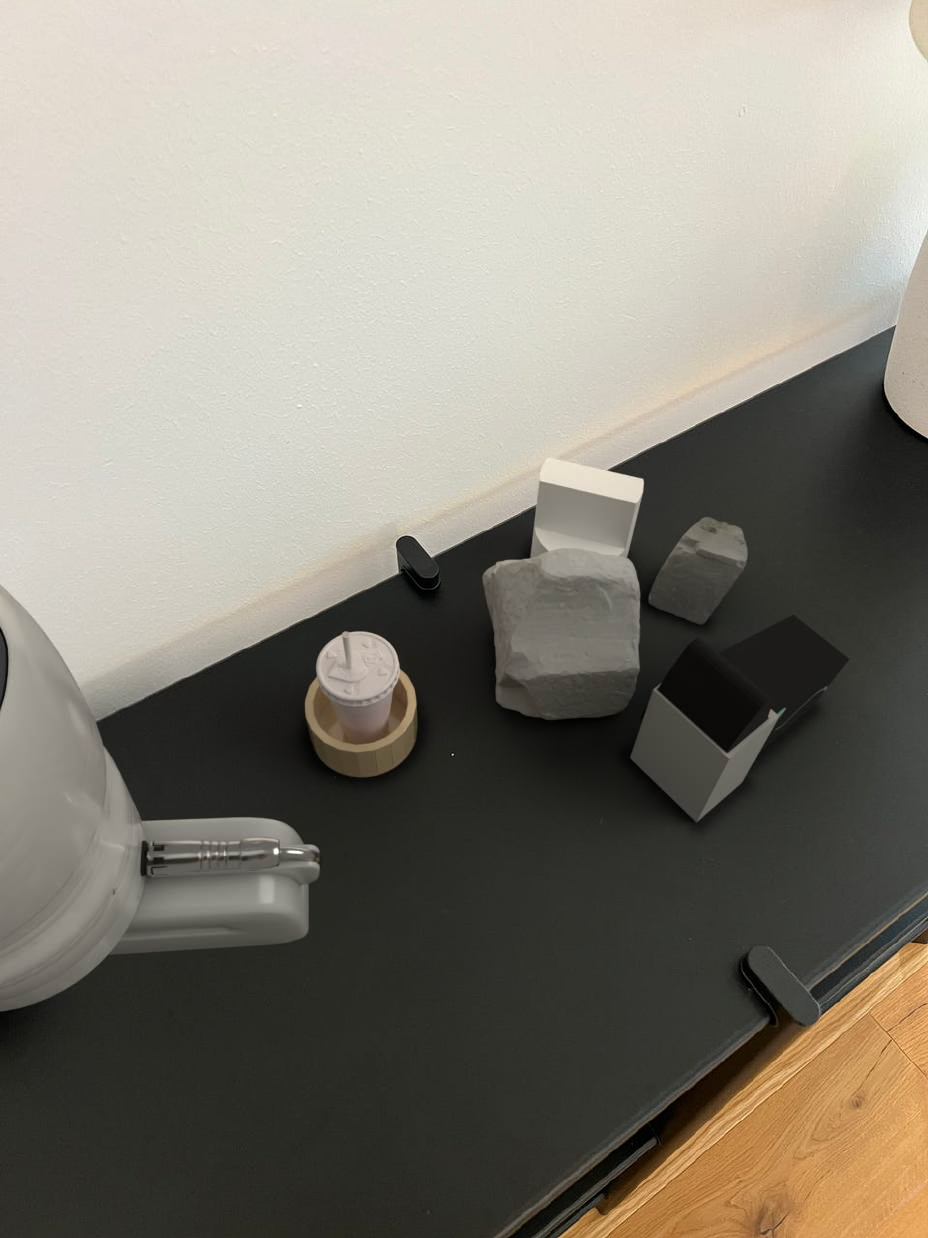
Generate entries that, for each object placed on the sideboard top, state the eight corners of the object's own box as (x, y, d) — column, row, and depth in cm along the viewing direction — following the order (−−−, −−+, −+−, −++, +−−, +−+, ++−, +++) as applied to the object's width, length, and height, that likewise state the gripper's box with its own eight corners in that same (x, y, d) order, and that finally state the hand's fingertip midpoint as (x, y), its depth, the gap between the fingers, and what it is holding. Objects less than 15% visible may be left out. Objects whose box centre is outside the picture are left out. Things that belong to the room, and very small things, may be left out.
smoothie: (316, 712, 81) (295, 616, 70) (384, 683, 83) (375, 585, 72) (346, 773, 78) (329, 682, 66) (416, 741, 80) (411, 647, 68)
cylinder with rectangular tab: (518, 591, 90) (527, 504, 80) (542, 523, 95) (553, 434, 85) (612, 614, 88) (632, 529, 79) (631, 544, 93) (652, 456, 84)
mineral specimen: (741, 631, 87) (744, 575, 80) (647, 619, 90) (642, 564, 83) (752, 569, 91) (756, 511, 84) (661, 560, 94) (658, 503, 87)
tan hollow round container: (298, 768, 79) (291, 742, 75) (326, 677, 84) (321, 649, 80) (405, 785, 78) (403, 760, 74) (426, 693, 83) (425, 665, 79)
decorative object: (835, 700, 83) (902, 596, 71) (696, 822, 76) (744, 731, 64) (763, 640, 87) (815, 532, 75) (624, 752, 80) (656, 653, 68)
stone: (494, 734, 81) (503, 632, 69) (479, 617, 88) (485, 506, 76) (628, 723, 82) (661, 621, 69) (603, 609, 89) (628, 498, 77)
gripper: (322, 758, 34) (312, 852, 46) (-328, 777, 30) (-154, 874, 42) (326, 942, 31) (314, 991, 43) (-391, 988, 27) (-185, 1028, 39)
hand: (79, 934), depth 43 cm, fingers open, 8 cm apart
